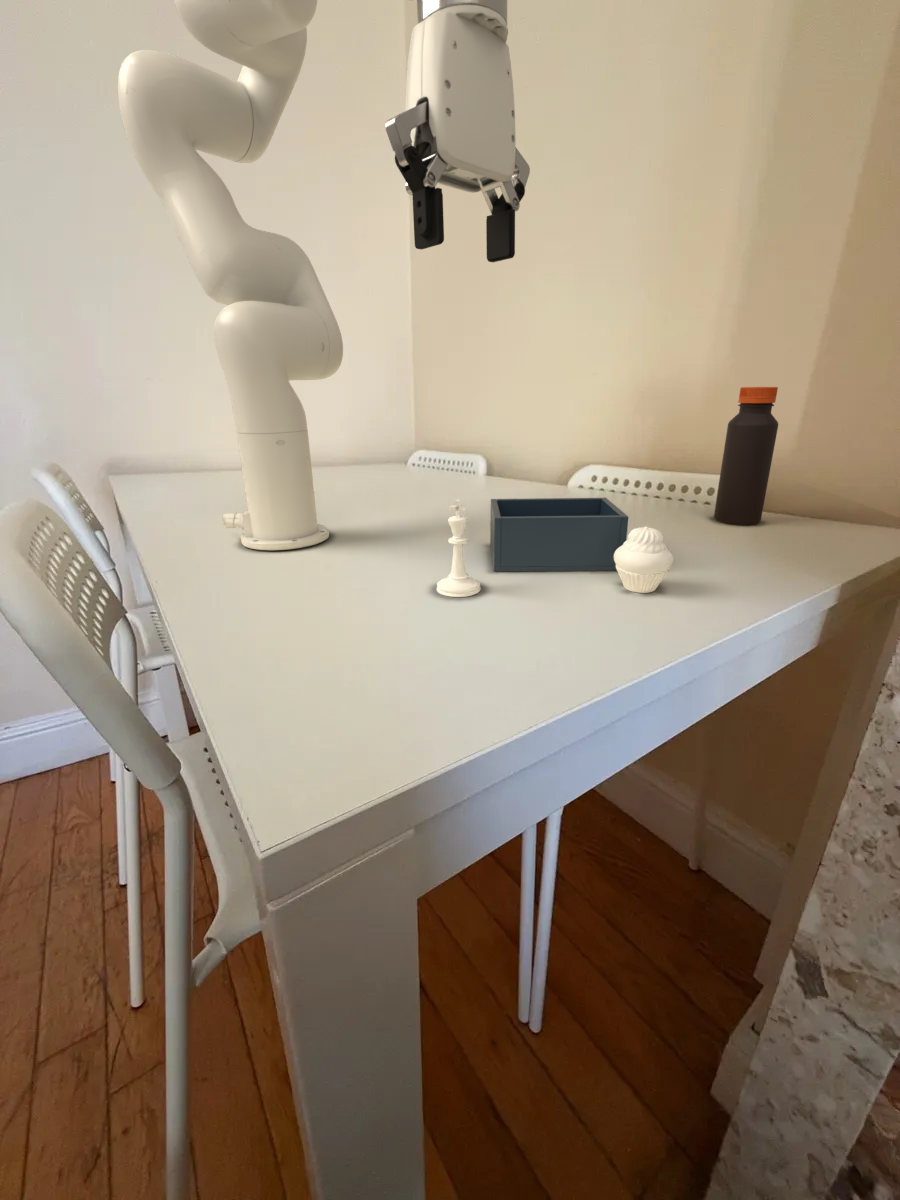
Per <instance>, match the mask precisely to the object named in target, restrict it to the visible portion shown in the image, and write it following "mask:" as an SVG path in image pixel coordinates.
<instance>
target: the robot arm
mask: <svg viewBox="0 0 900 1200" xmlns="http://www.w3.org/2000/svg"><path fill="white" fill-rule="evenodd" d="M409 1H413V0H409ZM173 2H174V7H175V9H176V12H177V14H178V16H179V18H180V20H181V22H182V24H183V25H184V27H185V28H186V29H187V31H188V32H189V34H191V36H192V37H193V38H194V39H195V40H196V41H198V42H199V43H200V44H201V45H202V46H204V47H205V48H206V49H208V50H209V51H211V52H213V53H215V54H217V55H218V56H220V57H223V58H225V59H228V60H229V61H232V62H234V63H236V64H239V65H241V70H240V71H239V75H238V78H237V80H234V79H233V78H229V77H227V76H225V75H223V74H220V73H218V72H215V71H213V70H211V69H209V68H207V67H204V66H202V65H200V64H197V63H195V62H192V61H191V60H188V59H186V58H183V57H180V56H177V55H174V54H171V53H168V52H165V51H161V50H155V49H139V50H137V51H133V52H131V53H130V54H128V55H126V57H125V58H124V59H123V61H122V62H121V65H120V67H119V72H118V77H117V96H118V97H117V98H118V106H119V113H120V117H121V121H122V125H123V128H124V133H125V136H126V140H127V142H128V144H129V148H130V149H131V151H132V154H133V156H134V158H135V160H136V162H137V164H138V166H139V168H140V170H141V171H142V173H143V175H144V176H145V178H146V179H147V181H148V182H149V184H150V186H151V187H152V190H153V191H154V192H155V194H156V195H157V196H158V198H159V200H160V202H161V203H162V206H163V207H164V209H165V211H166V213H167V215H168V217H169V219H170V222H171V224H172V226H173V228H174V230H175V233H176V235H177V238H178V239H179V243H180V244H181V246H182V249H183V250H184V253H185V255H186V258H187V260H188V262H189V264H190V266H191V268H192V271H193V273H194V275H195V277H196V279H197V281H198V282H199V285H200V287H201V288H202V290H203V292H204V293H205V294H206V295H207V297H209V298H210V299H212V300H213V301H215V302H217V303H219V304H221V305H226V306H225V307H223V308H222V309H221V310H220V311H219V313H217V315H216V318H215V321H214V325H213V339H214V346H215V350H216V353H217V357H218V360H219V362H220V365H221V368H222V372H223V375H224V378H225V381H226V385H227V388H228V392H229V397H230V401H231V407H232V413H233V419H234V425H235V433H236V437H237V444H238V450H239V452H238V453H239V458H240V464H241V465H240V466H241V471H242V478H243V486H244V492H245V498H246V505H247V510H244V512H242V513H237V512H225V513H223V515H222V523H223V525H224V528H226V529H238V528H241V529H242V530H243V533H242V534H241V535H240V541H241V542H240V543H241V545H243V547H246V548H248V549H251V550H252V549H253V550H256V551H257V550H258V551H287V550H295V549H302V548H307V547H311V546H314V545H318V544H320V543H323V542H324V541H326V540H328V539H329V537H330V531H329V528H328V527H327V526H326V525H324V524H320V523H318V516H317V507H316V506H317V505H316V497H315V487H314V478H313V477H314V476H313V468H312V460H311V449H310V440H309V438H310V437H309V430H308V429H309V428H308V422H307V416H306V411H305V408H304V406H303V403H302V400H301V399H300V398H299V396H298V394H297V393H296V391H295V389H294V388H293V386H292V385H291V383H290V381H316V380H317V381H318V380H324V379H327V378H330V377H332V376H333V375H335V374H336V373H337V372H338V370H339V369H340V367H341V364H342V361H343V357H344V342H343V336H342V333H341V329H340V327H339V323H338V321H337V319H336V316H335V314H334V311H333V308H332V306H331V304H330V302H329V300H328V298H327V296H326V293H325V292H324V289H323V286H322V284H321V282H320V280H319V277H318V275H317V273H316V270H315V269H314V266H313V264H312V262H311V259H310V258H309V256H308V255H307V254H306V252H305V251H304V250H303V248H302V247H301V246H300V245H299V244H298V243H296V241H294V240H293V239H291V238H289V237H287V236H285V235H282V234H279V233H276V232H275V233H274V232H271V231H266V230H262V229H257V228H255V227H253V226H251V225H249V224H248V223H246V221H245V220H244V219H243V217H242V215H241V213H240V212H239V210H238V208H237V206H236V203H235V200H234V198H233V196H232V193H231V192H230V190H229V189H228V187H227V185H226V184H225V182H224V181H223V179H222V178H221V176H219V174H218V173H217V171H215V170H214V169H213V167H212V166H211V165H210V164H209V163H208V162H207V161H206V160H205V159H204V158H203V157H202V156H201V155H200V153H198V151H199V152H202V153H205V154H209V155H212V156H214V157H215V156H216V157H219V158H221V159H225V160H228V161H231V162H235V163H239V164H253V163H254V162H256V161H258V160H259V159H260V158H261V157H262V156H263V155H264V153H266V151H267V149H268V147H269V144H270V142H271V141H272V138H273V136H274V134H275V132H276V129H277V128H278V127H277V126H278V124H279V122H280V120H281V117H282V115H283V113H284V110H285V108H286V106H287V103H288V101H289V100H290V97H291V94H292V92H293V90H294V87H295V85H296V83H297V81H298V78H299V75H300V72H301V70H302V66H303V64H304V60H305V57H306V50H307V46H308V45H307V43H308V30H307V27H308V26H309V24H310V23H311V21H312V20H313V18H314V16H315V14H316V10H317V7H318V6H317V5H318V0H173ZM416 10H417V11H416V14H417V15H416V16H417V24H416V25H414V27H413V28H412V30H411V35H410V41H409V48H408V56H407V65H406V76H405V77H406V78H405V109H404V111H403V112H401V113H399V114H397V115H395V116H393V117H391V118H389V119H387V120H386V121H385V123H384V128H385V131H386V134H387V137H388V140H389V143H390V146H391V148H392V151H393V152H394V162H395V165H396V167H397V169H398V170H399V173H400V174H401V175H402V177H403V179H404V181H405V183H404V187H405V191H406V193H407V194H408V195H409V196H411V198H412V213H413V214H412V216H413V237H414V238H413V239H414V247H415V249H417V250H425V249H429V248H432V247H436V246H440V245H442V244H443V243H444V241H445V227H444V226H445V224H444V222H445V221H444V220H445V219H444V197H443V196H444V195H443V189H442V188H440V187H436V186H437V185H442V186H445V187H449V188H453V189H456V190H459V191H463V192H467V193H472V194H473V193H479V192H481V193H482V195H483V197H484V200H485V202H486V204H487V207H488V209H489V212H490V214H489V215H487V216H486V220H485V222H486V223H485V224H486V225H485V226H486V229H485V231H486V232H485V233H486V239H485V240H486V260H487V262H489V263H496V262H501V261H506V260H510V259H513V258H514V257H515V254H516V212H518V211H519V209H520V207H521V205H520V202H521V201H522V200H523V198H524V196H525V193H526V186H527V183H528V179H529V176H530V173H531V168H530V165H529V163H528V162H527V161H526V159H525V158H524V157H523V155H522V153H521V152H520V151H519V149H518V148H517V147H516V143H517V142H516V113H515V112H516V110H515V94H514V83H513V82H514V81H513V80H514V79H513V71H512V63H511V55H510V47H509V45H508V44H507V40H508V35H509V30H508V0H416ZM498 188H500V191H501V194H500V196H498V193H497V192H496V189H498Z"/></svg>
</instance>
